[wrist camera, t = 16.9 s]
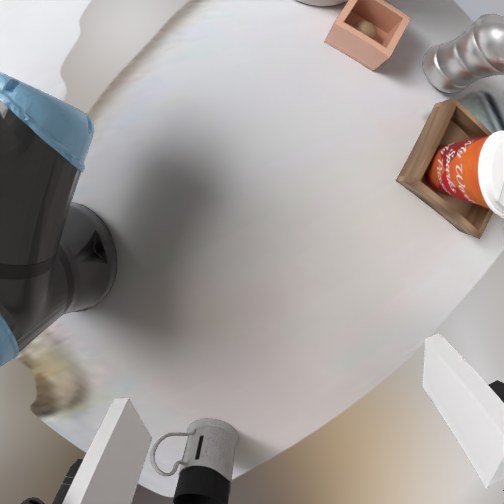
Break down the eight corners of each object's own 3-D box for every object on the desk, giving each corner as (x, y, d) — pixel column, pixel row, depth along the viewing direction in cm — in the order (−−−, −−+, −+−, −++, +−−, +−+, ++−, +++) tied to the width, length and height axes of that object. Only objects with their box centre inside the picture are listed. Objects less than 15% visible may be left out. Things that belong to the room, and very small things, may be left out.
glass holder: (211, 457, 50) (200, 523, 35) (153, 410, 47) (125, 477, 33) (249, 440, 48) (245, 511, 33) (189, 389, 45) (167, 462, 31)
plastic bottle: (444, 105, 34) (548, 79, 15) (408, 69, 33) (500, 16, 14) (463, 77, 33) (561, 44, 13) (430, 42, 32) (517, -13, 12)
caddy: (395, 180, 37) (412, 182, 32) (435, 104, 34) (454, 98, 29) (459, 230, 38) (479, 238, 33) (494, 158, 35) (515, 159, 30)
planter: (324, 42, 33) (333, 23, 27) (347, 6, 31) (358, -15, 26) (372, 71, 34) (389, 57, 28) (393, 34, 32) (411, 18, 26)
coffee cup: (412, 136, 35) (484, 125, 20) (463, 139, 34) (539, 135, 20) (416, 202, 37) (487, 223, 22) (465, 201, 36) (540, 220, 22)
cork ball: (346, 37, 32) (352, 28, 29) (355, 22, 31) (362, 12, 29) (367, 50, 32) (374, 42, 29) (376, 34, 32) (383, 26, 29)
